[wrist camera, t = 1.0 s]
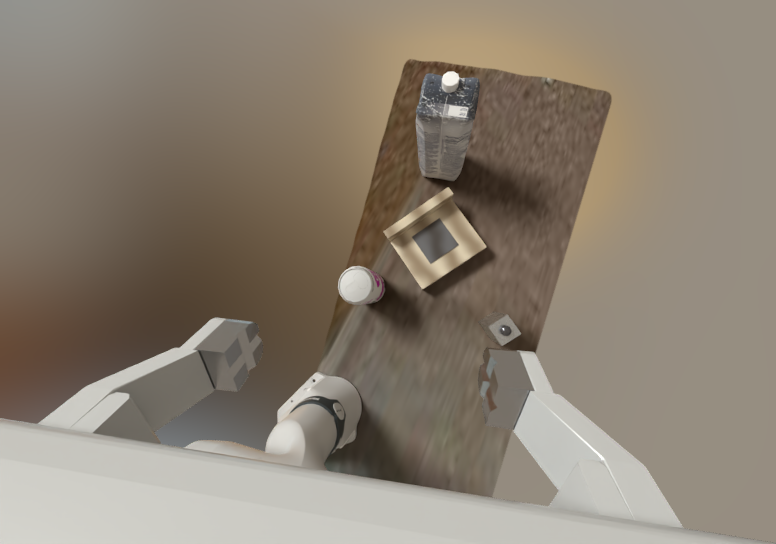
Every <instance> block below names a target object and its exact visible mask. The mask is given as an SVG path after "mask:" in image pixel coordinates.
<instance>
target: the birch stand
mask: <svg viewBox="0 0 776 544" xmlns="http://www.w3.org/2000/svg"><path fill="white" fill-rule="evenodd" d="M452 198H453V192H452V191H451V190H450V188H449V187H447V188H446V189H445V190H443V191H442V192H440V193H439V194H437V195H436V196H434V197H433V198H431V199H430V200H429V201H427V202H426V203H424V204H423V205H421V206H420V207H418V208H417V209H416V210H414V211H413V212H411V213H410V214H408V215H407V216H405V217H404V218H402V219H401V220H400V221H398V222H397V223H395V224H394V225H392V226H391V227H389V228H388V229H386V230H385V231H384V233H385V235H386V236H387V238H388V239H389V241H390V242H391V244H392V245H393V247H394V248H395V249H396V251H397V252H398V254H399V255H400V257H401V258H402V260H403V261H404V263H405V264H406V266H407V267H408V269H409V270H410V272H411V273H412V275H413V276H414V278H415V279H416V281H417V282H418V284H419V285H420V287H421V288H422V289H425V288H426V287H428V286H429V285H431V284H433V283H434V282H436V281H437V280H439V279H440V278H442V277H443V276H445V275H446V274H448V273H449V272H451V271H452V270H454V269H455V268H457V267H458V266H460V265H461V264H463V263H464V262H466V261H467V260H469V259H470V258H472V257H473V256H475V255H476V254H478V253H479V252H481V251H482V250H484V249H485V248H486V247H487V246H486V245H485V244H484V242H483V241H482V240H481V238H480V237H479V236H478V234H477V233H476V231H475V230H474V229H473V227H472V226H471V225H470V223H469V222H468V221H467V219H466V218H465V217H464V215H463V214H462V213H461V211H460V210H459V209H458V207H457V206H456V205H455V203H454V202H453V200H452Z"/></svg>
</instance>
